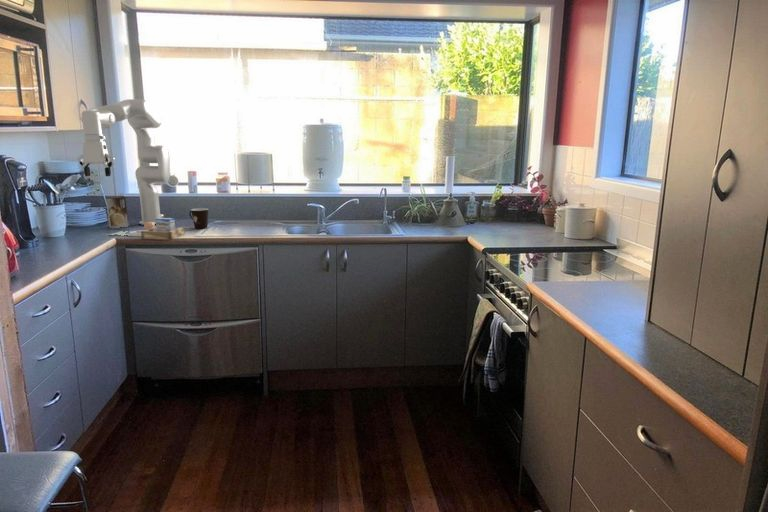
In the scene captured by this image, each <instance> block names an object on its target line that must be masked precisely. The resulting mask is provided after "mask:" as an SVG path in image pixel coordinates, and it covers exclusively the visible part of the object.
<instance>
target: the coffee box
mask: <svg viewBox="0 0 768 512" xmlns="http://www.w3.org/2000/svg"><path fill="white" fill-rule="evenodd" d="M104 198H105V205H106V211H107V219H108V220H107V221H108V226H109V228H110V229H111V228H112V229H120V227H122V228H129V227H130V224H129V216H128V207H127V199H126V197H125V196H123V195H122V196H109V197H108V196H106V197H104ZM128 226H129V227H128Z"/></svg>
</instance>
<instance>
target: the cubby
mask: <svg viewBox="0 0 768 512" xmlns="http://www.w3.org/2000/svg"><path fill="white" fill-rule="evenodd" d="M141 231H142V232H141V237H140V238H141V239H142V238H143V239H142V240H169V241H170V240H174V239H176V238H178V236H179V237H181V236H184V235H185V227H183V226H181V227H178V228H175V230H172V231H170V232H157V231H156V226H155V227H153V228H150V229H147V230H145V229H143V230H141ZM183 234H184V235H183Z"/></svg>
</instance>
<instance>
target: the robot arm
mask: <svg viewBox="0 0 768 512" xmlns="http://www.w3.org/2000/svg"><path fill="white" fill-rule="evenodd" d="M125 120H127V122H128V123H127V124H129V126H130V128H132V129H133V131H134V132H135V135H136V138H137V139H136V140H137V155H138V160H139V162H141V163H142V164H157V165H140V166H139V167H137V168H136V170H135V173H134V174H135V179H136V181H137V186H138V192H139V200H140V202H139V203H140V211H141V212H140V213H141V219H142V220H140V221H139V225H140V224H141V226H144V222H155V224H156V220H155V219H157V218H164V214H162V213H161V207H160V198H159V197H160V196H159V191H158V188H157V186H156V184H157V185H158V184H160V185H163V184H167V183H168V182H169V181H170V177H171V175H170V174H171V165H170V164H171V163H170V161H171V160H170V152H169V150H168V147H166V146H165V145H156V144H155V143H156V142H155V136H154V135H155V134H154V133H153V131H152V130H151V129H157V128H159V127H161V125H162V117H161V115H160V114H159V112H158V111H157V109H155V107H153V105H152V104H151V103H150V102H148V101H147V100H145V99H138V98H137V99H135V98H134V99H133V98H132V99H124V100H121V101H118V102H115V103H113V104H111V103H110V104H106V105H101V106H96V107H92V108H90V109H86V110H83V111H82V112H81V122H82V130H83V137H84V141H83V142H82V144H83V146H82V155H80V156H78V157H77V158H76V160H77V161H78V162H79V164H80V166H81V167H82V168H83V171H84V176H85V177H90V176H91V169H90V164H96V165H97V164H100V165H101V164H102V165H103V166H104V174H105V177H110V176H112V175H111V174H112V172H111V168H112V166H113V164H114V162H115V160H116V158H115V157H114V156H112V155H110V154H109V150H108V146H107V143H106V141H104V140H106V136H105V135H104V134H103V131H102V130H103V129H102V128H110V127H112V126H114V125H115V123H118V122H123V121H125Z"/></svg>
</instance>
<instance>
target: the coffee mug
mask: <svg viewBox="0 0 768 512" xmlns="http://www.w3.org/2000/svg"><path fill="white" fill-rule="evenodd" d="M188 216H189V217H190V218H191V219H192V221H193V225H194V229H195V230H207V229H208V225H209V223H208V222H209V208H205V207H197V208H192V209H191V210H190V211H189V215H188Z"/></svg>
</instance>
